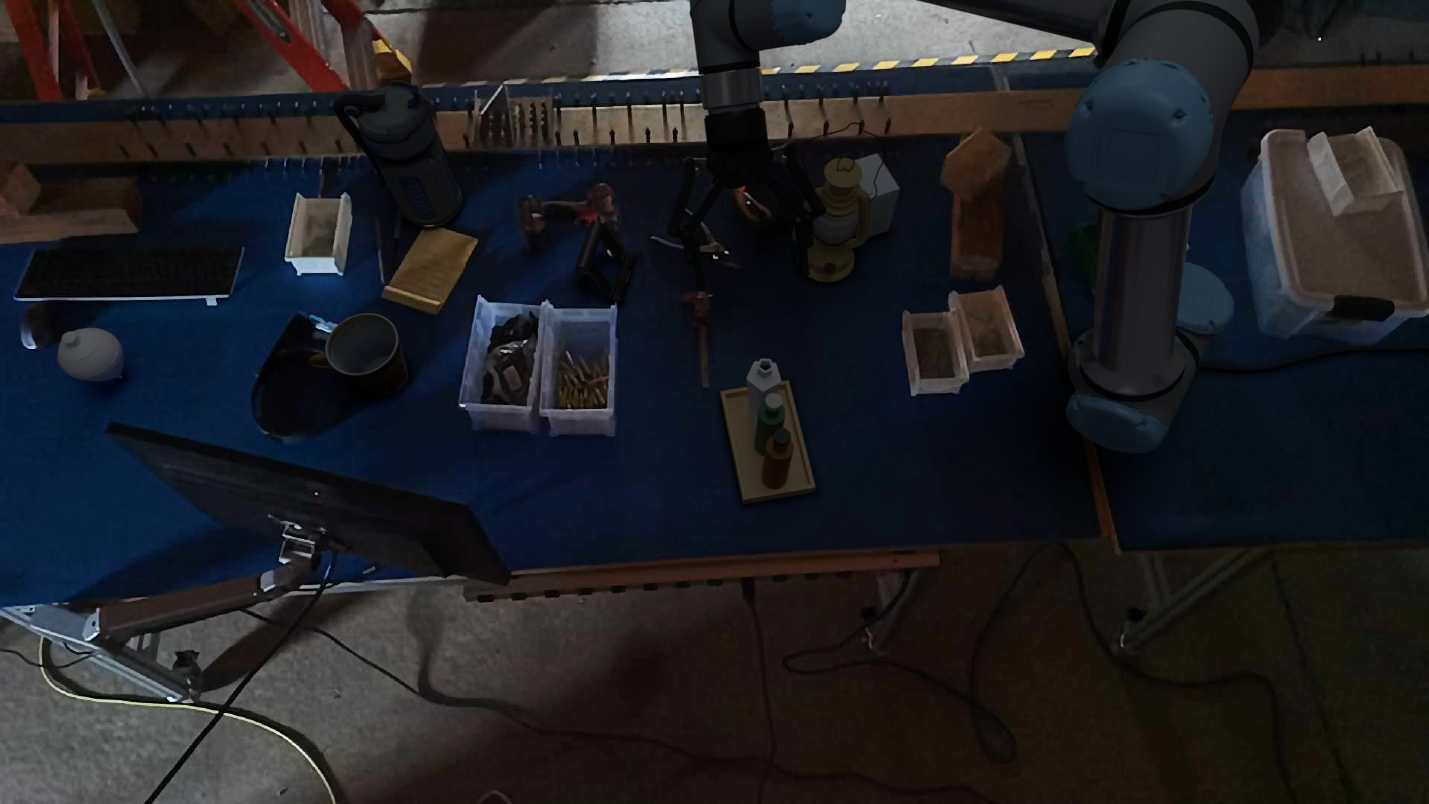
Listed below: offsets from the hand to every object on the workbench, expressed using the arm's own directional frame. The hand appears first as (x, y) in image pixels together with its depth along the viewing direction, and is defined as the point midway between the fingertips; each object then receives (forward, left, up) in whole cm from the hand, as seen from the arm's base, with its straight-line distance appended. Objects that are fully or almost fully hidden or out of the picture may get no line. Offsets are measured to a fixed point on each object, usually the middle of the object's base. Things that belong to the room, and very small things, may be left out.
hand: (753, 281), depth 112 cm
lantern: (-16, -15, -21) cm, 30 cm away
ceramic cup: (+55, -6, -21) cm, 59 cm away
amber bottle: (0, +20, -20) cm, 28 cm away
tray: (0, +14, -21) cm, 25 cm away
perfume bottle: (0, +9, -20) cm, 22 cm away
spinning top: (+92, -13, -21) cm, 95 cm away
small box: (-24, -22, -21) cm, 39 cm away
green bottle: (0, +15, -20) cm, 25 cm away
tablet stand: (+19, -18, -21) cm, 34 cm away
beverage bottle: (+46, -37, -21) cm, 63 cm away
